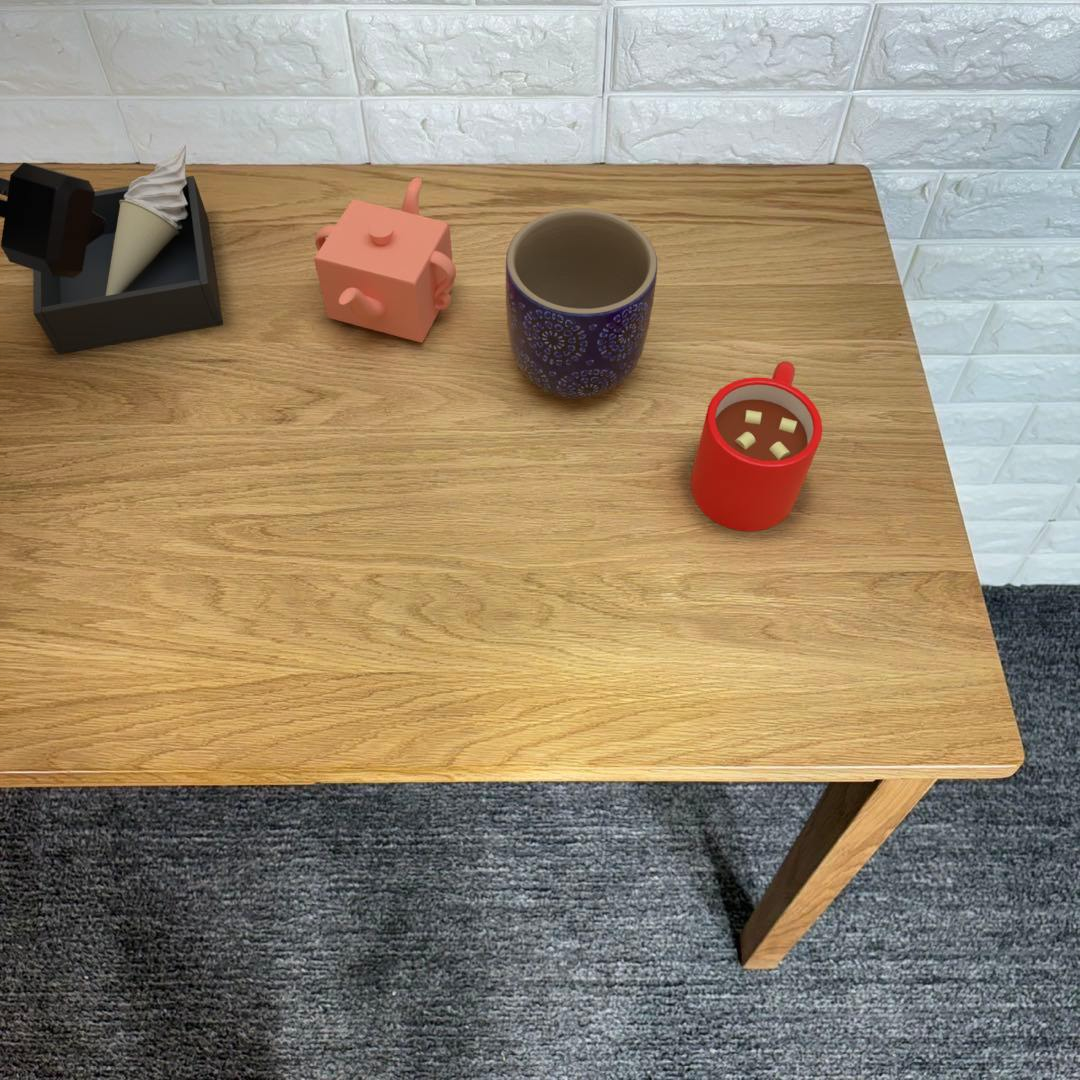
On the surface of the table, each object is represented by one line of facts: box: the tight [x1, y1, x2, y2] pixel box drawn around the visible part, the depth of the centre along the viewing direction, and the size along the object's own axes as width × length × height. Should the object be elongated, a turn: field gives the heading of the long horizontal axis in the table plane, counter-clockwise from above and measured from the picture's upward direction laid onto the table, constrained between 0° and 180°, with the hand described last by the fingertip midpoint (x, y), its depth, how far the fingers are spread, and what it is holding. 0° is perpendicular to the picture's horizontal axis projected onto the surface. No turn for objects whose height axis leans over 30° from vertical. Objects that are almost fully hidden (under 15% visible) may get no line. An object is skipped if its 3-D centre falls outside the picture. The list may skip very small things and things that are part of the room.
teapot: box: [313, 177, 457, 343], centre depth 80 cm, size 12×15×8 cm
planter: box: [505, 207, 658, 400], centre depth 76 cm, size 11×11×11 cm
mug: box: [690, 360, 824, 532], centre depth 72 cm, size 8×12×8 cm, turn 160°
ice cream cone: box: [106, 144, 188, 296], centre depth 83 cm, size 5×5×15 cm
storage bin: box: [32, 175, 224, 355], centre depth 83 cm, size 13×13×5 cm
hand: (49, 209), depth 72 cm, fingers open, 9 cm apart
